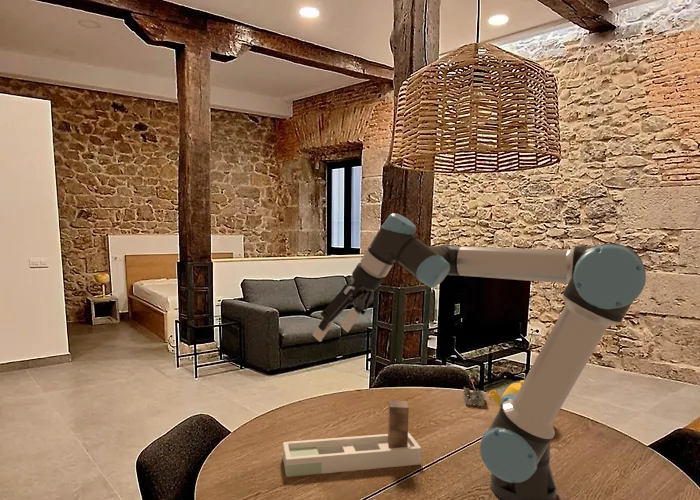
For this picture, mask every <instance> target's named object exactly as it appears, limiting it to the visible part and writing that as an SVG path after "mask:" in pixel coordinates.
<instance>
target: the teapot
mask: <svg viewBox="0 0 700 500" xmlns="http://www.w3.org/2000/svg"><path fill="white" fill-rule="evenodd" d="M524 380H525V379H522V380H519V382H513V383H511V384H510V385H508V387H506V389H505V391H504V392H503V394H502V395H501V396H500V394H499V393H498V391H496V389H492V390H490V391H489V393H488V396H489V397H490V398H491V399H492V400H493V402H494V403H495V405H497V407H498V408H499V410H500V408H501V406H500V403H501V398H502V396H504V395H506V394H517V393H518V391H519V389H520V387H521V385H522V384H523V382H524Z"/></svg>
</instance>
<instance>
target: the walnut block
mask: <svg viewBox="0 0 700 500" xmlns="http://www.w3.org/2000/svg"><path fill="white" fill-rule="evenodd" d="M387 421H388V427H387V431H388V432H387V434H388V447H389V449H390V448H402V447H408V432H409V404H408V401H407V400H391V399H390V400H388V419H387Z"/></svg>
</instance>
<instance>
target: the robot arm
mask: <svg viewBox="0 0 700 500" xmlns="http://www.w3.org/2000/svg"><path fill="white" fill-rule="evenodd" d="M416 231H417V226H416V225H415V223H413V221H412V220H410V219H408V218H407V217H406V216H404V215H402V214H399V213H394V212H393V213H390V214H389V215H388V216H387V218H386V220H385V221H384V222H383V224H382V225H381V226H380V228H379V230H378V231H377V233H376V235H375V236H374V237H373V239H372V241H371V243H370V244H369V246H368V248H367V249H364V254H363V256H362V258H361V259H360V262H359V263H358V264H357V265H356V267H355V268H354V270H353V271H352V273H351V276H352V279H353V282H352V283H351V284H350V285H349V284H347V283H346V284H344V286H343V287H342V289H341V290H340V291H339V292H338V294H337V295H336V296H335V297H334V298H333V299H332V300H331V301H330V303H329V304H328V305H327V306H325V308H324V309H323V310H322V311H321V312H320V316H322V318H321V320H320V322H319V324H318V325H317V326H316V328H315V330H314V331H313V333H312V336H313V337H314V338H315V339H316V340H317V341H318V342H323V340H324V338H325V336H326V335H327V333H328V331H329V330H330V329H331V327H332V325H333V323H334V320H335V319H336V318H337V317H338V316H339V315H340V314H342V312H343V311H344V310H345V309H347V307H348V306H351V305H353V304H354V307H351V309H350V310H349V312H348V314H347V315H346V317H345V318H344V320H343V322H342V323H341V324H340V328H342V329H343V330H344V331H345V332H346V333H349V332H350V331H351V329H352V328H353V326H354V324H355V323H356V321H357V319H358V318H359V317H360V315H363V316H364V315H365V313H366V310H368V308H369V306H370V303H371V300H372V298H373V295H374V292H375V291H376V290H378V289H379V288H380V285H381V284H382V282H383V281H384V278H386V277H387V275H388V274H389V272H390V270H391V269H392V267H394V264H395V263H396V262H397V263H398V264H399V265H400V266H401V267H403V268H404V269H405V270H406V271H408V272H409V273H410V274H411V275H412V276H414V278H416V279H417V280H418V281H419V282H420V283H422V284H424V285H425V286H427V287H429V288H430V289H431V288H436V287H437V286H438V285H440V284H441V283H442V282H443V281H444V280H445V278H446V277H447V276H460V277H461V276H463V277H477V278H479V277H480V278H490V279H501V280H503V279H504V280H517V281H528V282H531V281H532V282H540V283H541V282H542V283H543V282H544V283H554V284H555V283H556V284H557V283H558V284H566V287H565V289H564V291H563V292H562V298H563V301H564V305H565V306H564V308H563V309H562V310H561V313H560V315H559V317H558V318H557V320H556V321H555V324H554V326H553V328H552V329H551V331H550V332H549V334H548V337H547V338H546V340H545V342H544V343H543V345H542V347H541V349H540V351H539V352H538V354H537V357H536V359H535V360H534V362H533V363H532V365H531V367H530V370H529V371H528V373H527V374H526V377H525V378H524V379H523V380H524V382H523V384H522V385H521V387H520V389H519V391H518V393H517V394H506V395H504V396H502V395H501V397H502V398H501V403H500V406H501V408H500V409H499V410H498V412H497V414H496V415H495V417H494V418H493V421H492V423H491V425H490V426H489V427H488V430H486V431H485V432H484V434H483V435H482V437H481V441H480V442H479V453H480V457H481V459H482V462H483V464H484V466H485V467H486V469H487V470H488V471H489V472H490V473H491V474H490V482H489V483H490V484H489V485H490V489H491V491H492V492H493V493H494V495H495V496H497V497H498V498H500V499H501V500H555V499H556V500H557V485H556V482H555V478H554V474H553V471H552V467H551V464H550V458H551V457H550V456H551V442H552V441H553V438H554V437H555V433H556V432H555V429H554V425H553V423H554V420H555V418H556V417H557V415H558V414H559V412H560V410H561V408H562V406H563V405H564V403H565V402H566V399H567V398H568V397H569V395H570V393H571V392H572V390H573V387H574V386H575V384H576V383H577V381H578V379H579V377H580V376H581V374H582V372H583V371H584V370H585V369H584V368H585V367H586V365H587V364H588V362H589V361H590V359H591V357H592V355H593V353H594V352H595V350H596V348H597V346H598V344H599V343H600V341H601V339H602V338H603V336H604V334H605V333H606V331H607V329H608V328H609V327H611V326H615V325H618V324H621V323H622V321H623V320H624V318H625V316H626V315H627V313H628V311H629V309H630V307H631V306H632V305H633V303H634V302H635V300H636V299H638V297H639V296H640V295H641V293H642V292H643V290H644V287H645V285H646V281H647V280H646V279H647V271H646V268H645V265H644V262H643V259H642V258H641V257H640V255H639V254H638V253H637V252H636V251H635V250H634V249H632V248H631V247H629V246H627V245H624V244H621V243H613V242H612V243H604V244H599V245H588V246H587V245H585V246H584V245H583V246H580V245H579V246H578V245H577V246H576V245H574V246H573V247H571V248H570V249H568V250H566V249H548V248H547V249H544V248H543V249H542V248H515V247H495V246H493V247H491V246H464V245H462V246H460V245H451V244H440V245H433V246H428V245H426V244H425V243H424V242H422V240H420V239H419V238H417V236H416V235H415V232H416Z"/></svg>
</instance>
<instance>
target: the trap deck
mask: <svg viewBox="0 0 700 500" xmlns="http://www.w3.org/2000/svg"><path fill="white" fill-rule="evenodd" d="M282 460H283V467H284V473H285V478H288V477H289V478H290V477H300V476H309V475H321V474H332V473H342V472H343V473H344V472H355V471H365V470H373V469H374V470H377V469H383V468H384V469H387V468H395V467H397V468H398V467H406V466H408V467H409V466H417V465H419V466H420V465H422V447H421V446H420V445H419V443H418V442H417V440H415V438H414V437H413V435H412V434H411V433H410V432H409V431H408V447H402V448H390V449H389V447H388V433H383V434H381V433H380V434H372V435H371V434H369V435H357V436H344V437H331V438H321V439H320V438H317V439H307V440H306V439H304V440H303V439H302V440H294V441H293V440H292V441H282Z"/></svg>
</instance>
